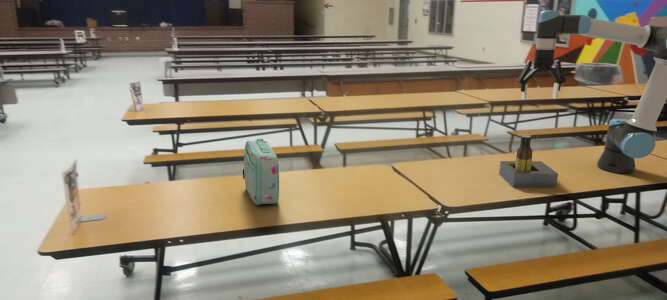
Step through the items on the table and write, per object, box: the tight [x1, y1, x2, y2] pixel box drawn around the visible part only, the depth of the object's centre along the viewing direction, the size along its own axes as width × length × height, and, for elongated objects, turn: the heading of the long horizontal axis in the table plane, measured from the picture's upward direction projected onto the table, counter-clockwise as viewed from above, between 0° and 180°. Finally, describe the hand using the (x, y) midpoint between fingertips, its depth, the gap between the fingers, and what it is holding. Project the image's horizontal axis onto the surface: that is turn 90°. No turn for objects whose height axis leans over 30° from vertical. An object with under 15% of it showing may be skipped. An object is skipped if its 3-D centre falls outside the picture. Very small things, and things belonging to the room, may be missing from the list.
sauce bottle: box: [515, 134, 533, 171], centre depth 197 cm, size 7×6×20 cm
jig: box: [498, 160, 559, 189], centre depth 199 cm, size 18×16×6 cm
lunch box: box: [242, 138, 280, 206], centre depth 179 cm, size 27×10×21 cm, turn 21°
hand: (539, 98), depth 202 cm, fingers open, 13 cm apart
